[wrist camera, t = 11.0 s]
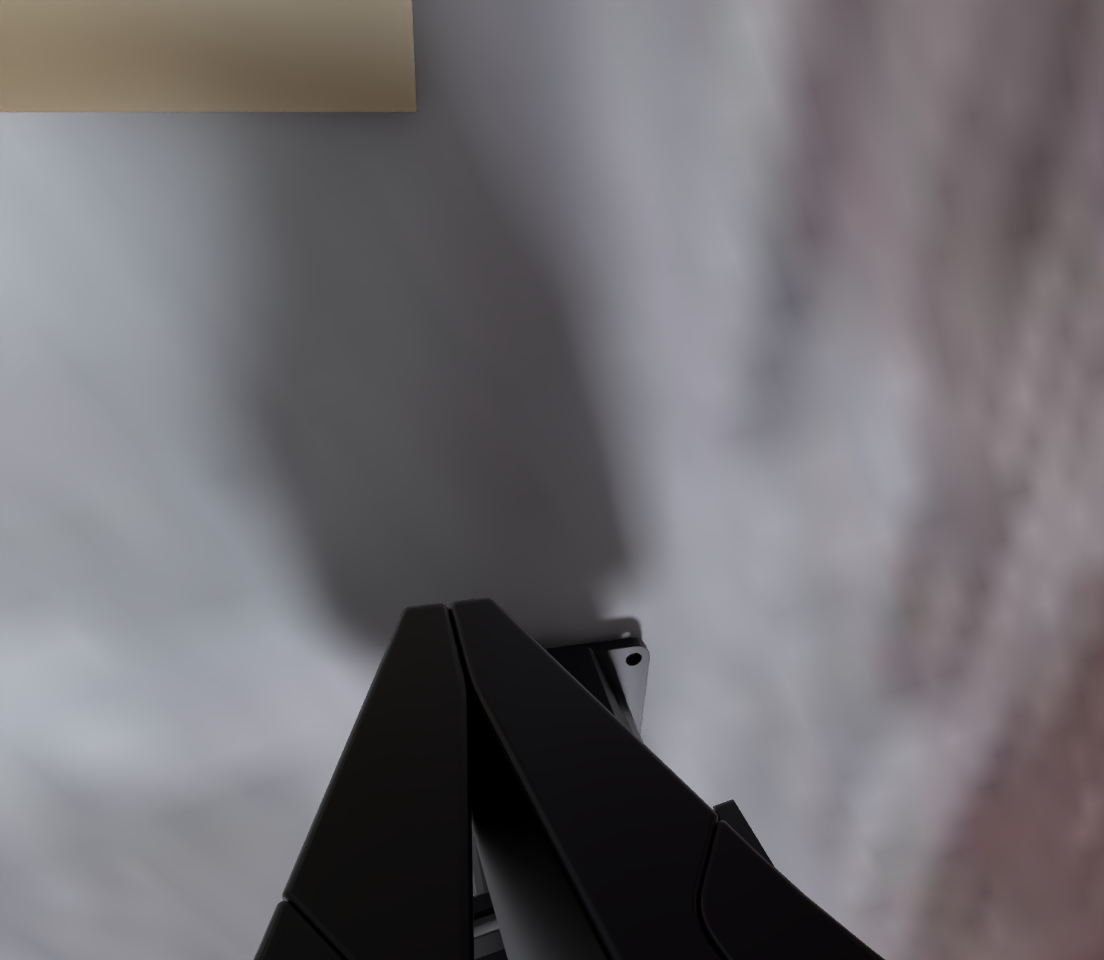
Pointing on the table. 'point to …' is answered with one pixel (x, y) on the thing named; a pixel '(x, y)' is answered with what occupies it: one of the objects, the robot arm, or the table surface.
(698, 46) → the table surface
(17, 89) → the post board
